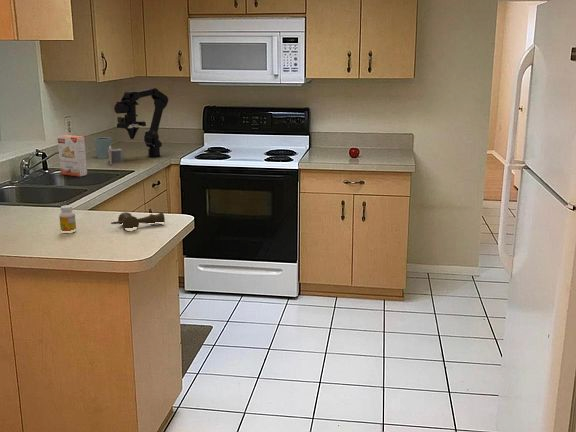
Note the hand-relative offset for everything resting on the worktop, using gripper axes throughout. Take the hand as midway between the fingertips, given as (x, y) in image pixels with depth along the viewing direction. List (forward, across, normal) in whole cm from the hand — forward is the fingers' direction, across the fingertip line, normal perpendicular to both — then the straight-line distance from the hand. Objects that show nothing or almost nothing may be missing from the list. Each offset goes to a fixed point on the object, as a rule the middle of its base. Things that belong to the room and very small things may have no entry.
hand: (132, 139), depth 379 cm
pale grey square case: (+13, +17, -1) cm, 21 cm away
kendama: (+16, +107, +110) cm, 154 cm away
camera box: (+13, +9, -6) cm, 17 cm away
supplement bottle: (+16, +125, +93) cm, 157 cm away
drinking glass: (+13, +2, -24) cm, 27 cm away
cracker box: (+14, +50, +7) cm, 53 cm away
